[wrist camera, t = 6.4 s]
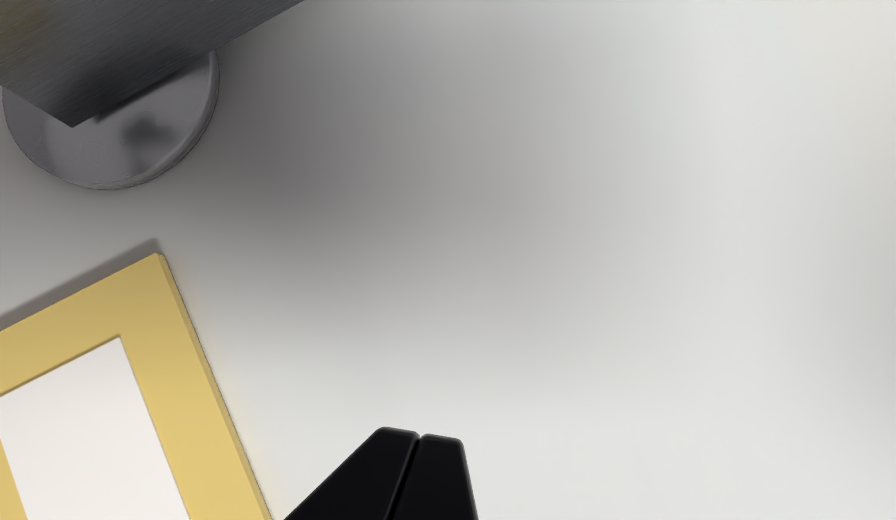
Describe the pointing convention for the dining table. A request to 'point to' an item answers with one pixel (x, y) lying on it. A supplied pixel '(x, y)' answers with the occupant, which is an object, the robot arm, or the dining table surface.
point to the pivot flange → (121, 130)
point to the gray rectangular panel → (111, 46)
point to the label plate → (117, 411)
